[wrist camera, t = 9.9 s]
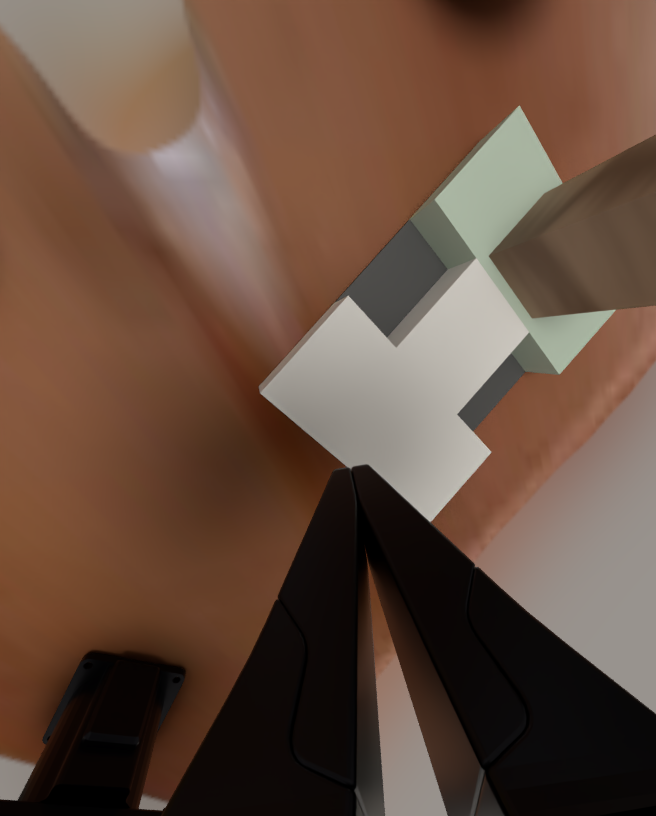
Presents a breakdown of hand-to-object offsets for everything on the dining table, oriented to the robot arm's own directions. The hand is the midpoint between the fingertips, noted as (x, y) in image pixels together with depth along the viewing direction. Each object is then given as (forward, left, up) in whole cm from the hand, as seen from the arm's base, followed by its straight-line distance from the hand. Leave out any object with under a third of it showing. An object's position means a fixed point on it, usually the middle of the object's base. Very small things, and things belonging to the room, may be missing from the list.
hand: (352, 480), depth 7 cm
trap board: (+8, -7, -13) cm, 17 cm away
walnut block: (+15, -9, -10) cm, 20 cm away
